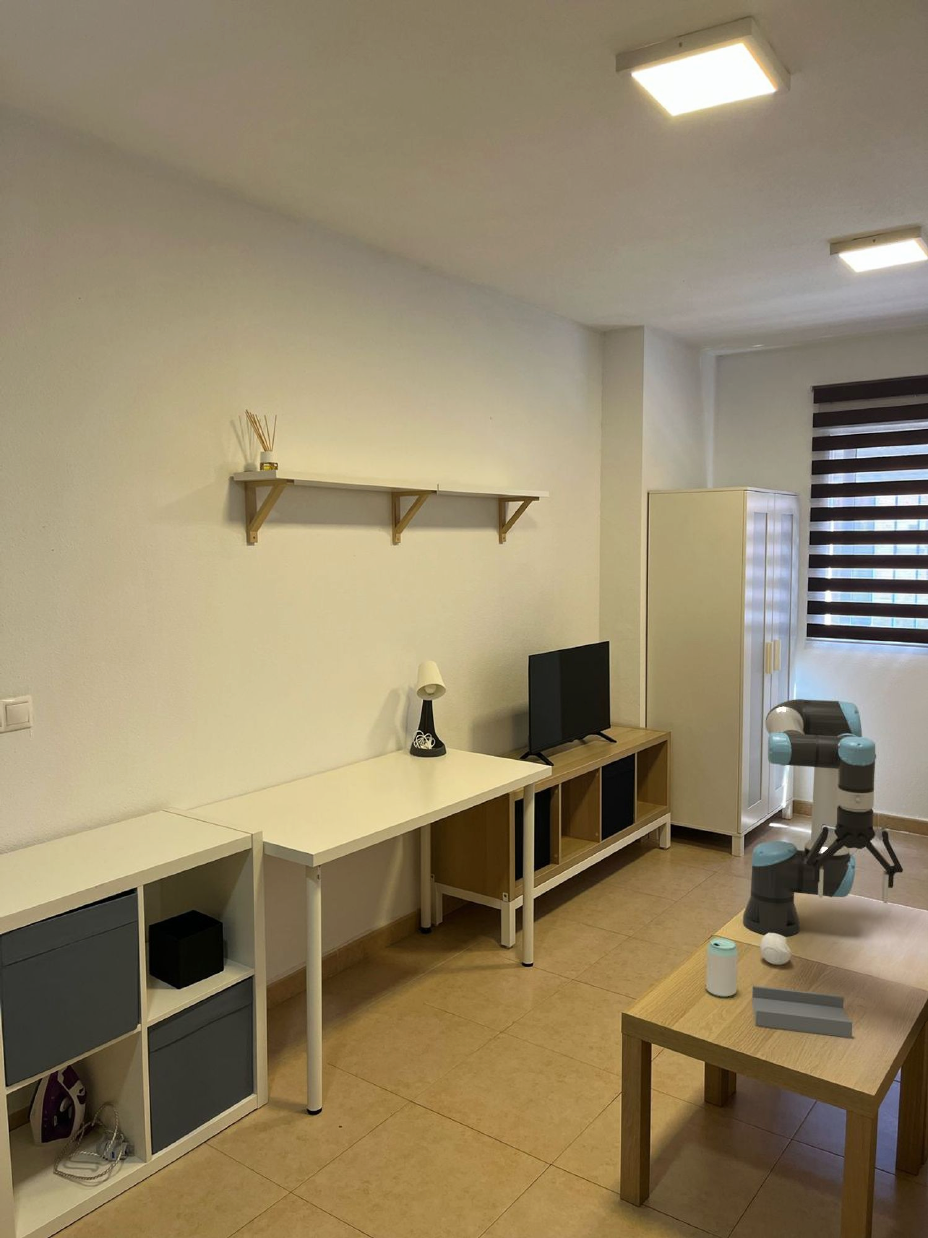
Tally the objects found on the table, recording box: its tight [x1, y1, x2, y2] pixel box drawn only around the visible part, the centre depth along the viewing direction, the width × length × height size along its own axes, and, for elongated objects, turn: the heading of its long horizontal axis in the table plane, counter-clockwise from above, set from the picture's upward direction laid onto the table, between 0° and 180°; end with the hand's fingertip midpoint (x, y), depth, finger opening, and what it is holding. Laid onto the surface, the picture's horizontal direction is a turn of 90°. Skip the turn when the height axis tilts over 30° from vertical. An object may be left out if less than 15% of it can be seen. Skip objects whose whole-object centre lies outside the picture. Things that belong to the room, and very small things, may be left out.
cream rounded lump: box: [759, 933, 793, 966], centre depth 244 cm, size 8×8×8 cm
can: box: [705, 937, 739, 998], centre depth 227 cm, size 7×7×12 cm
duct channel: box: [751, 985, 853, 1039], centre depth 215 cm, size 13×20×4 cm, turn 77°
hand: (852, 898), depth 216 cm, fingers open, 13 cm apart
